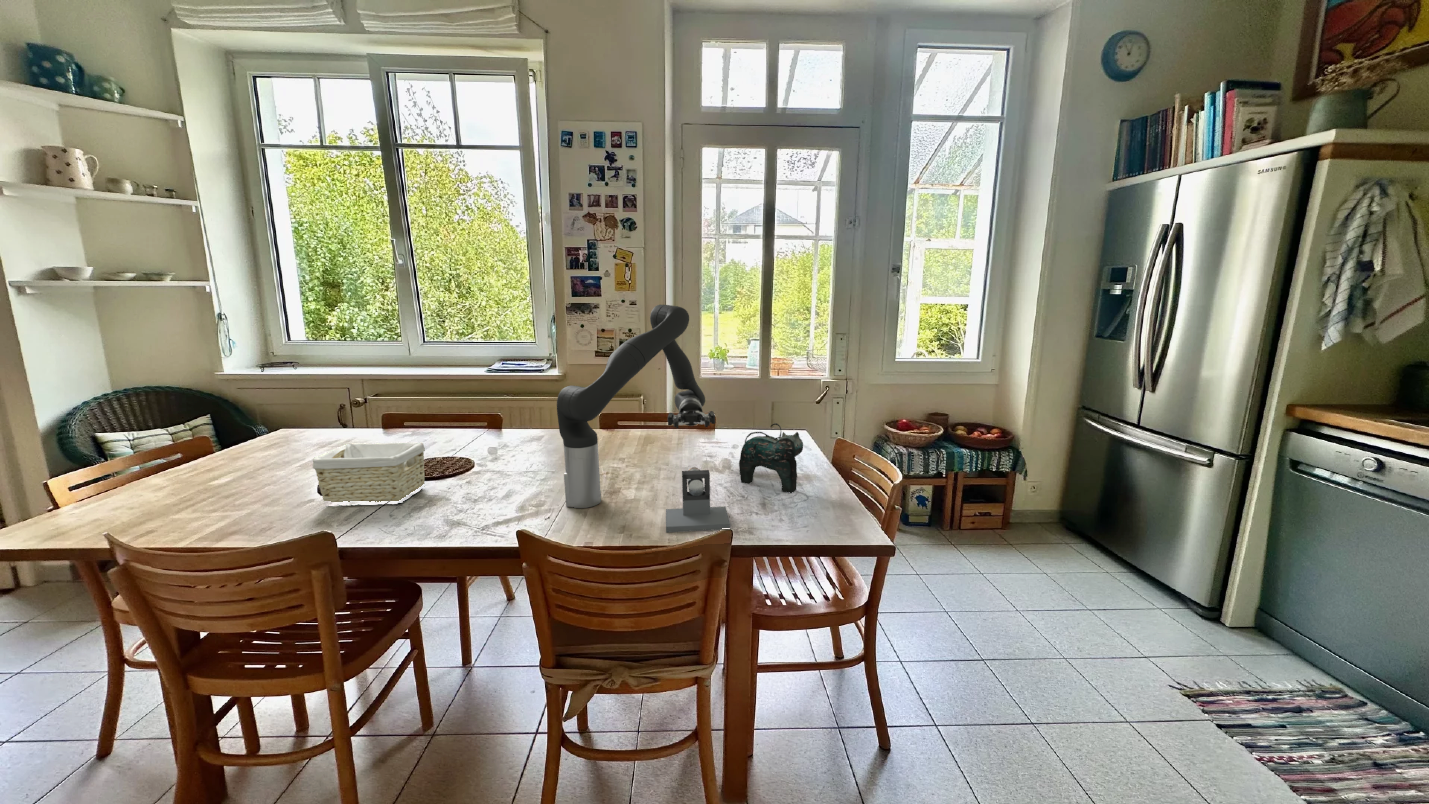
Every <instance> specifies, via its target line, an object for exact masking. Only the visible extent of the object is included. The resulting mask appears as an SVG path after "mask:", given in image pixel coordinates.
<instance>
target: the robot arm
mask: <svg viewBox="0 0 1429 804" xmlns="http://www.w3.org/2000/svg"><path fill="white" fill-rule="evenodd" d="M649 322H650V326H651V330H648V331H645V332H643V333H640V334H638V335H636V336H632V337H630V338H628V339H627V340H626V341H624V342H623V343H621V345H619V346H618V347H617V348H616V349H615V350H614V351H612V353H611V354H610V356H609V357H608V359H607V363H606V365H605V369H604V371H603V373H602V374H600V376H599V377H598V378H597V379H596V380H594V381H593V382H592V383H590V385H589V384H588V386H578V385H568V386H565V387H564V388H562V389H561V390H560V391H559V393H558V395H557V398H556V415H557V422H558V423H557V424H558V429H559V435H560V437H561V439H562V443H563V444H562V445H563V455H564V469H565V471H564V473H563V481H564V494H565V495H564V496H565V507H570V508H573V507H574V508H576V509H585V508H587V509H588V508H592V507H594V506H597V505H598V504H600V503H601V502H602V492H601V478H600V477H601V476H600V457H599V455H600V454H599V440H598V439H599V438H598V434H597V432H596V431H595V430H594V429H593V428H592V427H591V426H590V425H589V422H590V421H593V420H595V419H596V418H598V416H599V415H600V414H601V413H602V411H604V409H605V408H606V406H607V405H608V404H609V403H610V402H611V401H612V399H614V397H615V396H616V395H617V394H618V392H620V390H622V388H624V386H625V385H626V384H628V383H629V381H631V379H632V378H634V377H635V376H636V375H637V374H638V373H639V372H640V371H642V370H643V368H644V367H645V366H646V365H648V363H649V362H650V361H652V359H653V358H655V357H656V356H657V355H658V354H659V353H660V352H662V351H663V353H664V356H665V358H666V361H667V362H668V364H669V368H670V371H671V376H672V379H673V382H674V385H675V387H676V389H679V390H681V391H680V392H677V393H676V394H675V396H674V404H675V406H676V409H677V410H678V413H677V414H675V413H673V412H668V415H667V426H672V425H673V427H674V428H676V429H679V426H684V425H685V426H688V427H694V426H697V425H701V426H702V425H704V427H705V428H708V427H709V426H711V424H716V414H715V413H714V410H713V411H712V410H710V411H708V413H705V412H704V411H703V407H704V405H705V403H706V396H705V394H704V392H703V391H702V389H701V388H700V386H699V384H698V383H697V380H696V378H695V374H694V371H693V366H692V363H691V361H690V359H689V358H688V356H687V355H686V354H685V352H684V351H683V349H682V348H681V347H680V346H679V343H678V342H677V338H679V337H680V336H681V335H683V334H684V332H686V330H687V328H688V326H689V323H690V315H689V312H688V311H687V310H686V309H685V308H684V307H681V306H678V305H669V304H657V305H655V306H654V307H653V308H652V309H651V311H650V315H649ZM682 390H684V391H682Z"/></svg>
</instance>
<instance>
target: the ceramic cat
mask: <svg viewBox="0 0 1429 804" xmlns="http://www.w3.org/2000/svg"><path fill="white" fill-rule="evenodd" d="M773 426H777V427H779V429H780V431H779V436H778V437H774V436H771V435H769V434H767V433H765V432H762V431H754V432H750V433H749V434H747V436H746V437H745V440H744V444H743V446H742V447H741V450H740V456H739V461H738V467H739V468H738V469H739V478H740V483H742V484H746V485H751V484H752V483H753V481H754V476H755V475H754V473H755V471H756V468H758V467H762V468H765V469H768V470H772V471H775V472H776V473H777V475H778V476H779V480H780V483H781V492H782V493H788V492H790V493H789V494H793V493H795V492H796V491H797V482H798V481H797V480H798V473H797V471H798V469H797V467H798V464H797V460H796V457H797V456H799V455H800V454H801V453H802V452H803V450H804V442H803V440H802V439H801V437H800V434H799V432H798V431H796V432H795V433H794V434H786V433H785V432H784V431H782V427H781V425H780V424H779V423H775V422H774V423H772V424H771V425H770V428H772V427H773ZM754 434H763V435H764V436H762V435H757V436H754V437H751V435H754ZM749 437H751V438H750V439H748V438H749ZM747 439H748V440H747ZM795 490H796V491H795ZM792 492H793V493H792Z"/></svg>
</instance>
